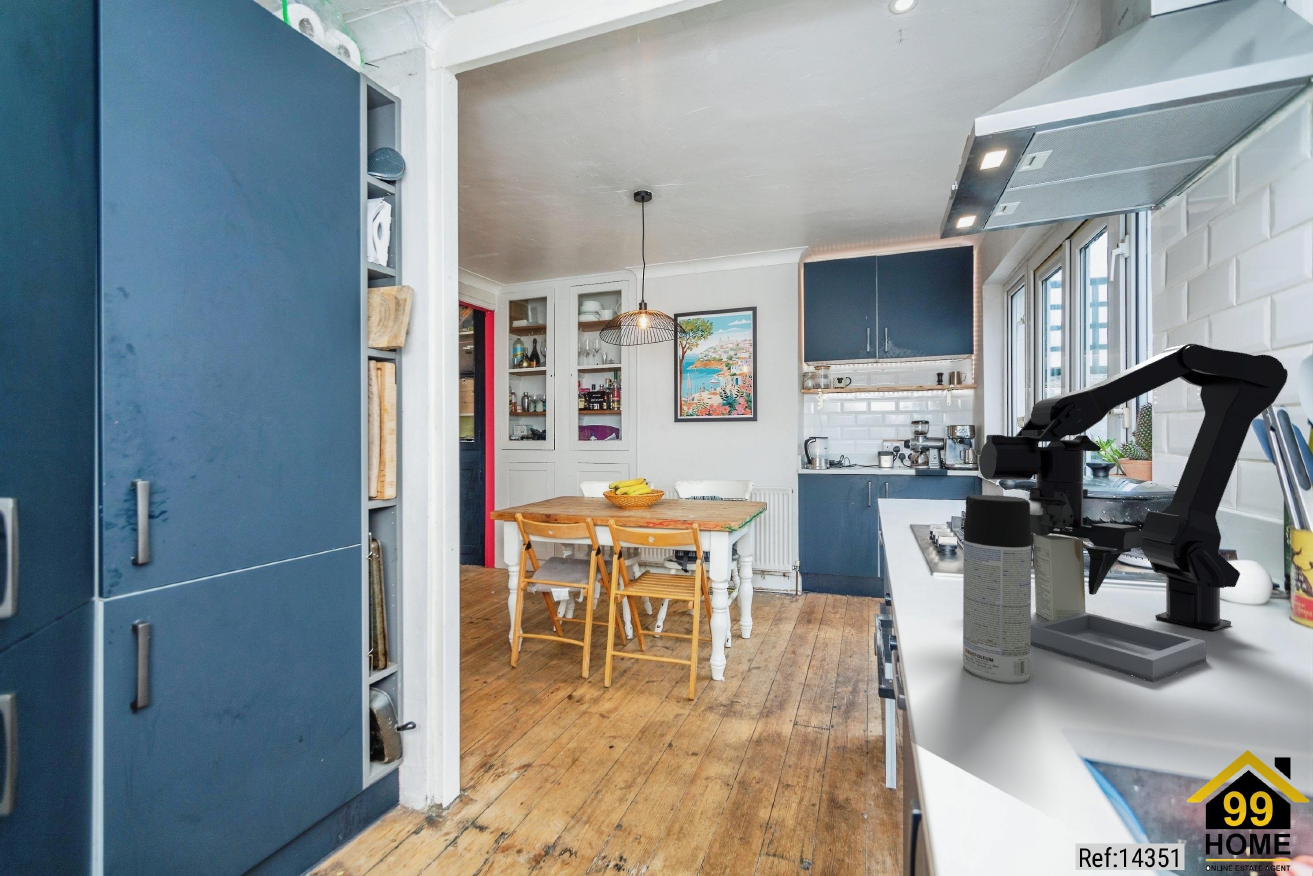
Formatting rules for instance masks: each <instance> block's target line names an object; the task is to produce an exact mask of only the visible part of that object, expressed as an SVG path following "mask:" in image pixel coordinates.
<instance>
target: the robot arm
mask: <svg viewBox="0 0 1313 876" xmlns="http://www.w3.org/2000/svg"><path fill="white" fill-rule="evenodd" d="M1288 376H1289V375H1288V370H1287V368H1285V366H1284V365H1283V363H1282V362H1281V360H1279V359H1277V358H1276V357H1274V356H1273V355H1272V356H1271V355H1269V354H1256V355H1254V354H1253V355H1252V354H1250V353H1246V352H1238V351H1233V350H1231V351H1230V350H1225V349H1218V348H1212V347H1208V346H1205V345H1202V344H1196V343H1187V344H1183V345H1182V344H1181V345H1177V346H1172V347H1168V348H1166V349H1164V350H1163V351H1161V352H1160V353H1159V354H1156V355H1154V356H1153V357H1150V358H1149V359H1146V360H1145V361H1142V362H1140V363H1137V364H1135V365H1133V366H1131V367H1128V368H1127V369H1125V370H1123V371H1121V372H1119V373H1116V374H1114V375H1112V376H1110V377H1108V378H1105V379H1104V380H1102V381H1099V382H1097V383H1095V384H1092V385H1091V386H1089V387H1084V388H1082V389H1078V390H1074V391H1070V392H1065V393H1062V394H1058V395H1054V396H1051V397H1047V398H1043V399H1041V400H1039V401H1038V402H1036V403H1035V404H1034V405H1033V406H1032V410H1031V413H1030V417H1029V419H1028V420H1027V421H1026V422H1025V424H1024V425H1023V426H1022V428H1021V429H1019V431H1018V432H1017V433H1016V434H1015V436H1012V435H1011V436H1009V435H1004V434H987V435H986V437H985V438H986V442H985V443H984V444H983V446H982V448H981V451H980V455H979V456H978V466H979V471H980V474H981V477H983V478H984V479H985V480H988V481H990V480H991V481H992V480H993V481H995V480H1000V481H1029V480H1031V479H1032V478H1033V477H1034V475H1035V479H1036V480H1035V483H1036V484H1035V486H1034V487H1031V486H1030V490H1029V497H1028V499H1027V500H1028V501H1029V502H1030V525H1031V566H1032V565H1033V562H1032V561H1033V554H1034V542H1033V534H1036V535H1040V536H1044V535H1049V534H1058V535H1065V536H1069V537H1073V538H1078V539H1086V540H1089V541H1090V543H1092V545H1093V546H1087V547H1086V548H1085V549H1086V552H1087V553H1088V556H1089V568H1088V579H1087V580H1088V583H1087V585H1088V586H1087V587H1088V593H1089V595H1091V596H1093V595H1096V594H1097V593H1098V591H1099V589H1100V587H1101V586H1102V584H1103V582H1104V580H1105V579H1106V578H1107V576H1108V573H1109V572H1110V571H1111V568H1112V567H1113V566H1114V564H1115V563H1116V561H1117V560H1118V559H1119V558H1120V557H1121V555H1122V554H1124V553H1131V552H1132V550H1133V549H1138V548H1140V550H1141V551H1142V554H1143V555H1144V557H1146V559H1148V561H1149V563H1150V566H1151V568H1152V571H1153V572H1154V573H1156V574H1161V575H1165V576H1166V577H1165V581H1166V582H1165V584H1166V585H1165V587H1166V588H1165V591H1166V593H1165V596H1166V597H1165V598H1166V600H1165V605H1166V606H1165V609H1166V611H1165V612H1160V613H1158V614H1155V619H1157V620H1161V621H1166V622H1170V623H1174V624H1179V625H1184V626H1187V627H1193V628H1197V629H1202V630H1206V631H1216V630H1220V629H1222V628H1224V627H1228V626H1231V625H1232V621H1231V620H1229V619H1222V618H1221V589H1224V588H1235V587H1236V586H1237V583H1238V581H1239V578H1240V575H1241V573H1240V571H1239V570H1238V569H1237V568H1236V567H1234V566H1233V565H1232V564H1231V563H1230V562H1229V561H1228V560H1227V559H1226V558H1225V557H1224V556H1223V555H1221V554H1220V547H1221V541H1222V535H1221V532H1220V528H1219V525H1218V520H1217V513H1218V509H1219V507H1220V504H1221V502H1222V499H1223V497H1224V494H1225V491H1226V489H1227V486H1228V484H1229V482H1230V479H1231V477H1232V473H1233V471H1234V468H1235V466H1236V463H1237V460H1238V458H1239V455H1240V453H1241V450H1242V448H1243V445H1244V442H1245V441H1246V437H1247V435H1248V433H1249V430H1250V427H1251V424H1252V422H1253V421H1254V420H1255V419H1256V418H1258V417H1259V416H1260V415H1261V414H1262V413H1263V412H1264V411H1266V410H1267V409H1268V408H1269V407H1270V406H1272V405H1273V404H1274V403H1275V402H1276V400H1277V398H1278V397H1279V395H1280V393H1281V392H1282V390H1283V388H1284V387H1285V385H1286V383H1287V381H1288V380H1287V379H1288ZM1178 378H1179V379H1181V380H1183V381H1184V382H1185V383H1186V384H1187V383H1188V384H1190V385H1191V386H1192V385H1193V386H1196V387H1198V388H1201V389H1200V394H1199V395H1200V399H1201V403H1202V407H1203V410H1204V417H1203V419H1202V422H1201V425H1200V428H1199V429H1198V432H1197V435H1196V437H1195V440H1194V442H1193V445H1192V447H1191V448H1192V449H1191V451H1190V453H1189V455H1188V459H1187V462H1186V464H1185V467H1184V469H1183V470H1182V471H1183V472H1182V474H1181V476H1180V479H1179V483H1178V484H1177V487H1176V490H1175V492H1174V495H1173V498H1172V500H1171V502H1170V504H1169V505H1168V506H1166V507H1165V509H1163V510H1162V511H1161V512H1159V511H1158V512H1157V511H1152V510H1150V511H1148V512H1147V513H1146V515H1145V520H1144V523H1143V526H1142V528H1141V529H1140V528H1139V527H1138V526H1136V525H1129V524H1119V523H1111V522H1110V523H1109V522H1106V523H1097V524H1094V523H1093V524H1091V525H1088V516H1083V515H1084V514H1083V513H1084V511H1083V509H1084V501H1083V500H1084V497H1088V494H1089V492H1088V491H1089V489H1088V488H1084V458H1085V456H1084V453H1085V452H1100V451H1101V449H1102V447H1101V446H1100V445H1098V444H1097V443H1096V442H1094V441H1093V440H1092V439H1090V437H1089V435H1087V434H1084V433H1085V432H1086V431H1088V430H1089V429H1091V428H1093V427H1094V426H1095V425H1097V424H1098V423H1099V422H1101V421H1103V419H1104V418H1105V417H1106V415H1108V414H1109V412H1110V411H1112V410H1114V409H1115V408H1117V407H1118V406H1121V405H1123V404H1125V403H1127V402H1129V401H1131V400H1134V399H1135V398H1138V397H1140V396H1142V395H1145V394H1147V393H1149V392H1151V391H1154V390H1155V389H1157V388H1159V387H1162V386H1163V385H1166V384H1168V383H1170V382H1172V381H1174V380H1177V379H1178ZM1081 434H1083V435H1081ZM1067 436H1075V437H1074V438H1073V439H1064V438H1066V437H1067ZM1040 442H1041V443H1045V442H1046V443H1048V444H1047V446H1039V443H1040Z"/></svg>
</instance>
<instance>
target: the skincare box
mask: <svg viewBox="0 0 1313 876" xmlns="http://www.w3.org/2000/svg"><path fill="white" fill-rule="evenodd" d="M1084 558H1085V556H1084V540H1083V539H1081V538H1078V537H1072V536H1065V535H1058V534H1051V533H1050V534H1049V535H1044V536H1040V535H1036V534H1033V566H1034V568H1033V569H1034V594H1035V595H1034V597H1035V600H1034V601H1035V613H1036V614H1037V613H1038V615H1039V616H1041V617H1042V618H1044V619H1046V620H1048V621H1051V620H1055V619H1059V618H1063V617H1067V616H1071V615H1075V614H1079V613H1083V612H1086V613H1087V611H1086V587H1085V563H1084V562H1085V561H1084Z"/></svg>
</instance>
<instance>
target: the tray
mask: <svg viewBox="0 0 1313 876" xmlns="http://www.w3.org/2000/svg"><path fill="white" fill-rule="evenodd" d="M1031 647H1035V648H1038V649H1042V650H1044V651H1048V652H1051V653H1054V654H1057V655H1060V656H1065V657H1067V658H1070V659H1074V660H1077V661H1080V662H1084V663H1086V664H1087V663H1088V664H1091V665H1095V666H1098V667H1101V668H1104V669H1107V670H1111V671H1114V672H1118V673H1121V674H1124V675H1127V676H1130V675H1133V676H1135V677H1134V678H1137V677H1138V678H1137V679H1140V678H1141V680H1143V679H1145V680H1144V681H1147V680H1148V682H1150V681H1151V682H1150V683H1155V682H1157V681H1160V680H1163V679H1165V678H1167V677H1166V676H1168V677H1170V676H1172V674H1173V675H1175V674H1177V673H1176V672H1178V673H1180V672H1183V671H1186V670H1188V669H1190V668H1193V667H1195V666H1198V665H1200V664H1203V663H1206V662H1207V640H1203V639H1198V638H1194V637H1190V636H1187V635H1186V636H1185V635H1183V634H1177V633H1173V632H1169V631H1165V630H1161V629H1157V628H1153V627H1149V626H1144V625H1139V624H1136V623H1132V622H1128V621H1124V620H1119V619H1114V618H1111V617H1106V616H1102V615H1097V614H1095V613H1089V612H1087V611H1086V612H1083V613H1079V614H1075V615H1071V616H1067V617H1063V618H1059V619H1055V620H1051V621H1049V620H1048V621H1043V622H1040V623H1036V624H1031ZM1187 668H1188V669H1187ZM1174 673H1175V674H1174ZM1169 675H1170V676H1169ZM1133 676H1132V677H1133ZM1164 677H1165V678H1164ZM1162 678H1163V679H1162ZM1159 679H1160V680H1159ZM1156 680H1157V681H1156ZM1154 681H1155V682H1154Z"/></svg>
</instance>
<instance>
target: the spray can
mask: <svg viewBox="0 0 1313 876" xmlns="http://www.w3.org/2000/svg"><path fill="white" fill-rule="evenodd" d="M1028 500H1029V499H1027V498H1023V497H1017V496H1010V495H1009V496H1008V495H988V494H980V495H979V494H974V495H968V496H966V498H965V518H964V521H963V550H962V551H963V557H962V558H963V560H962V561H963V562H962V563H963V567H962V568H963V569H962V571H963V573H962V574H963V576H962V578H963V579H962V580H963V581H962V582H963V583H962V584H963V588H962V590H963V594H962V595H963V601H962V612H963V613H962V664H963V665H962V666H963V668H964V670H965V671H966V672H967V673H968V674H969V675H971V676H974V677H977V678H979V679H982V680H985V681H988V682H993V683H999V684H1011V685H1012V684H1013V685H1015V684H1024V683H1026V682H1027V681H1028V680H1029V679H1030V675H1031V650H1032V649H1031V647H1032V646H1031V625H1032V622H1031V620H1032V619H1031V618H1032V614H1031V613H1032V612H1031V611H1032V565H1031V525H1030V502H1029V501H1028Z"/></svg>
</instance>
